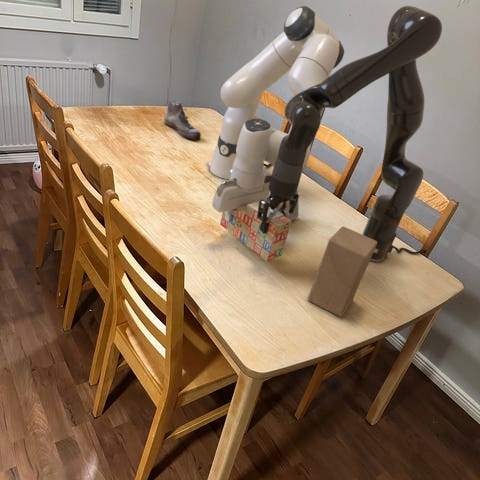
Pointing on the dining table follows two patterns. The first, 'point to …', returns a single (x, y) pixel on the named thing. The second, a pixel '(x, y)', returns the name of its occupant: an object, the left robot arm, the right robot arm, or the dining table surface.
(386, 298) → the dining table surface
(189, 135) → the shoe
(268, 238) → the stack of blocks
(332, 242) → the wooden block
